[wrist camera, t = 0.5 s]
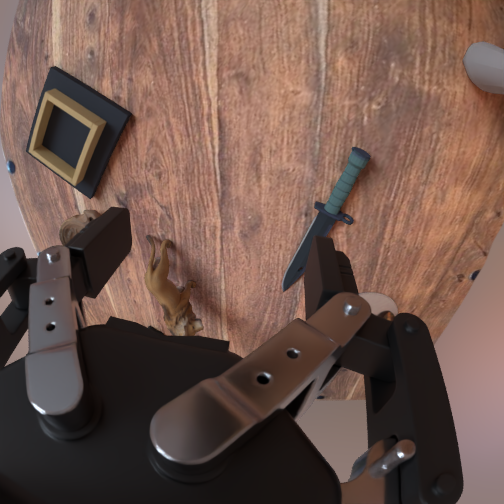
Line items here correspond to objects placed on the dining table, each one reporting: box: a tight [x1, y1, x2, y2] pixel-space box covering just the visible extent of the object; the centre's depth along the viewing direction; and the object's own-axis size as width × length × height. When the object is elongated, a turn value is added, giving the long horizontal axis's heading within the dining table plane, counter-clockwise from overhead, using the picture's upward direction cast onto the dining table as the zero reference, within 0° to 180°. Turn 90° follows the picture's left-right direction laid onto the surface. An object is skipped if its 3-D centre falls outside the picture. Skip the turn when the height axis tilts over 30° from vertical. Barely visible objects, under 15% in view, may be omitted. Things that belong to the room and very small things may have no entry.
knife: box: [282, 147, 371, 292], centre depth 37 cm, size 23×2×5 cm
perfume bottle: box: [359, 292, 398, 321], centre depth 44 cm, size 12×12×4 cm
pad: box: [26, 66, 132, 199], centre depth 31 cm, size 14×14×3 cm
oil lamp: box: [59, 210, 101, 246], centre depth 41 cm, size 13×8×5 cm, turn 127°
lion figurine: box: [145, 235, 204, 336], centre depth 41 cm, size 15×5×9 cm, turn 28°
